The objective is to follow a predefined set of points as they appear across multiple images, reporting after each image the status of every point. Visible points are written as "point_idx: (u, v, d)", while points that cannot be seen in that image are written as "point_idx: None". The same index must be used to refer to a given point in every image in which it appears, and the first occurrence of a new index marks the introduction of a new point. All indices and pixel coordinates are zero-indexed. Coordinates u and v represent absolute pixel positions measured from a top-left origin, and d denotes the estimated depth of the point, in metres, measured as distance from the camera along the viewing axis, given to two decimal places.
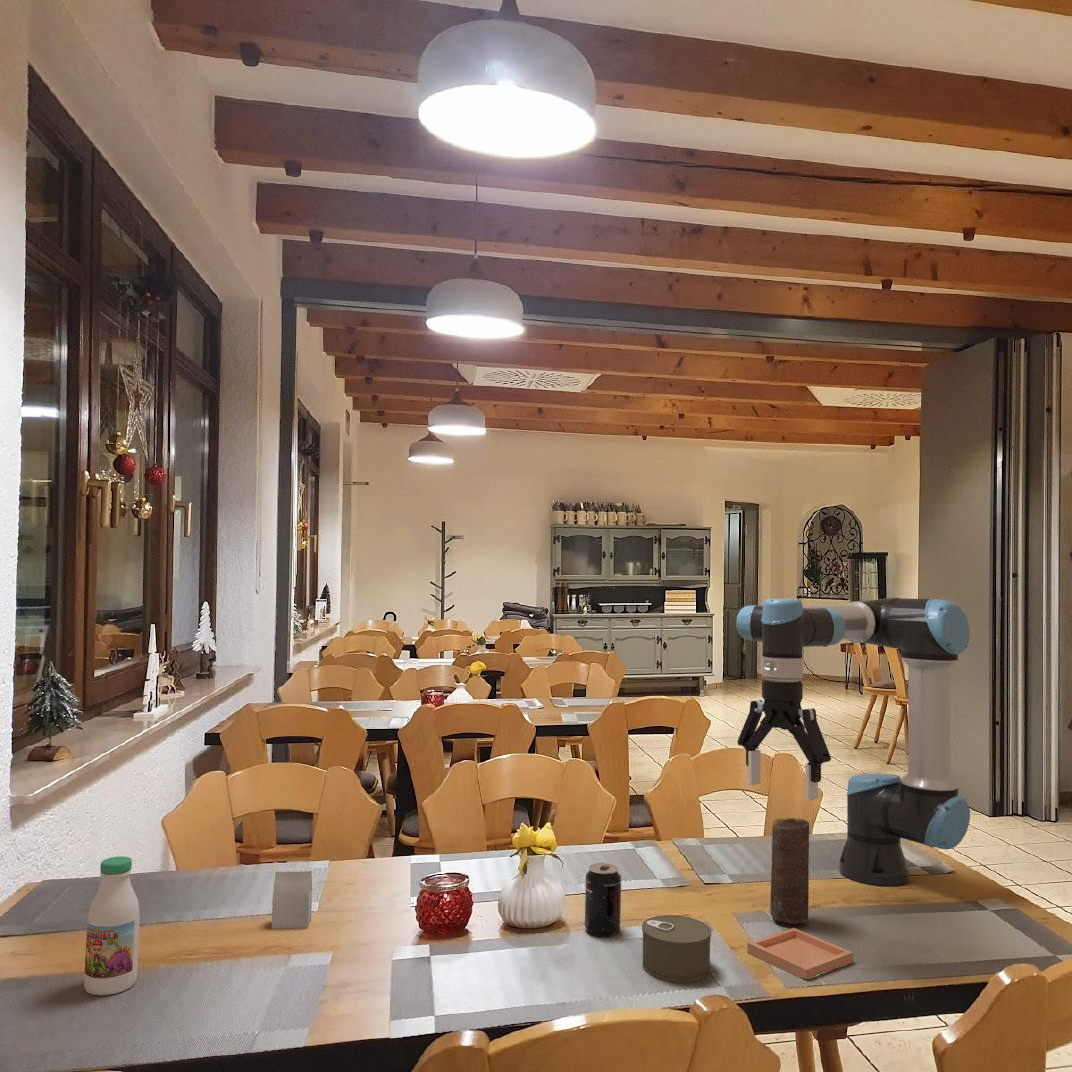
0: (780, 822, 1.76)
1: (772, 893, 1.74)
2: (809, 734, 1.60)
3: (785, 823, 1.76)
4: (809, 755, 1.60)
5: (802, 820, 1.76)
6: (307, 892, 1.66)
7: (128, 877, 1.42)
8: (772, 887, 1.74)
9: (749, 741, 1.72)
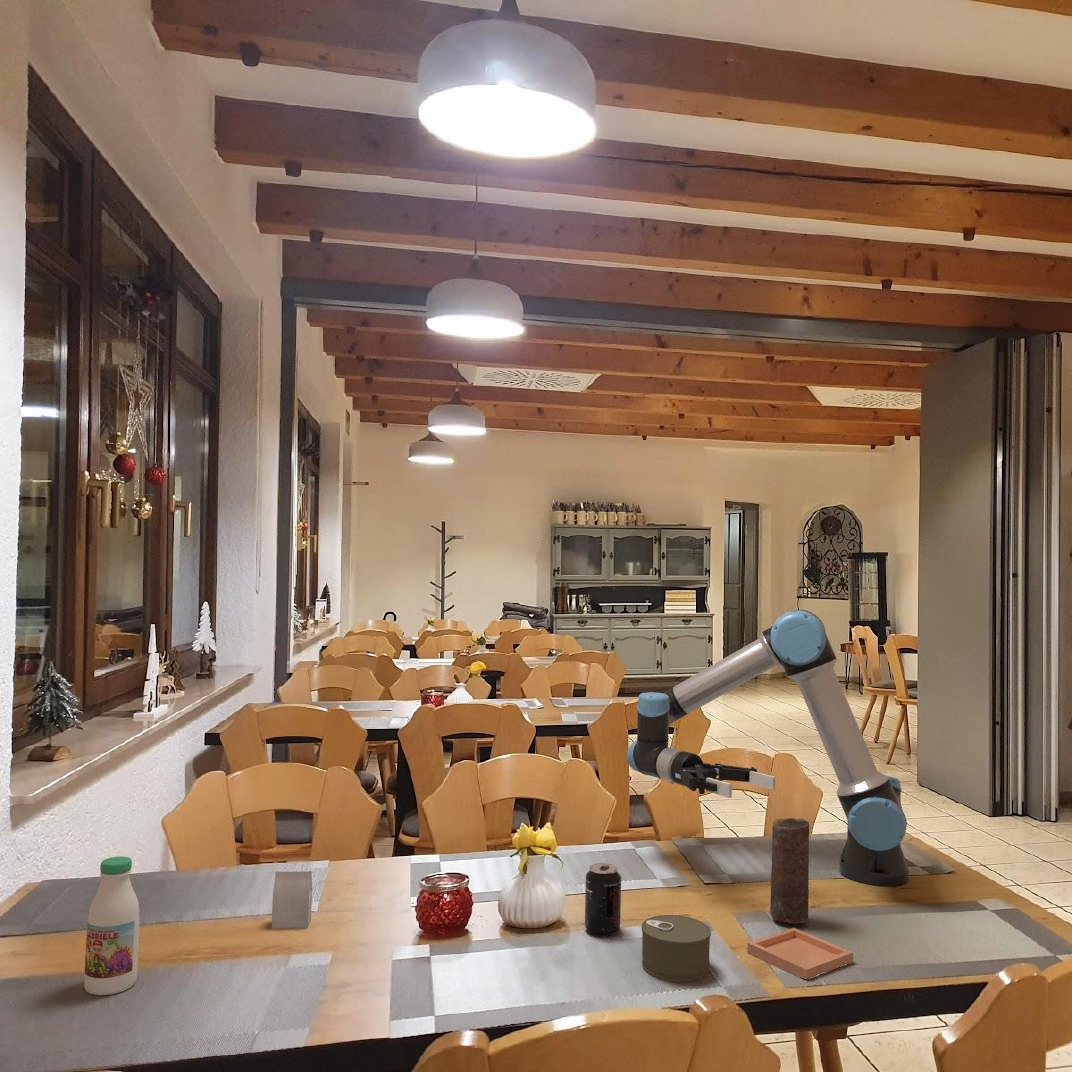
0: (780, 822, 1.76)
1: (772, 893, 1.74)
2: None
3: (785, 823, 1.76)
4: None
5: (802, 820, 1.76)
6: (307, 892, 1.66)
7: (128, 877, 1.42)
8: (772, 887, 1.74)
9: None
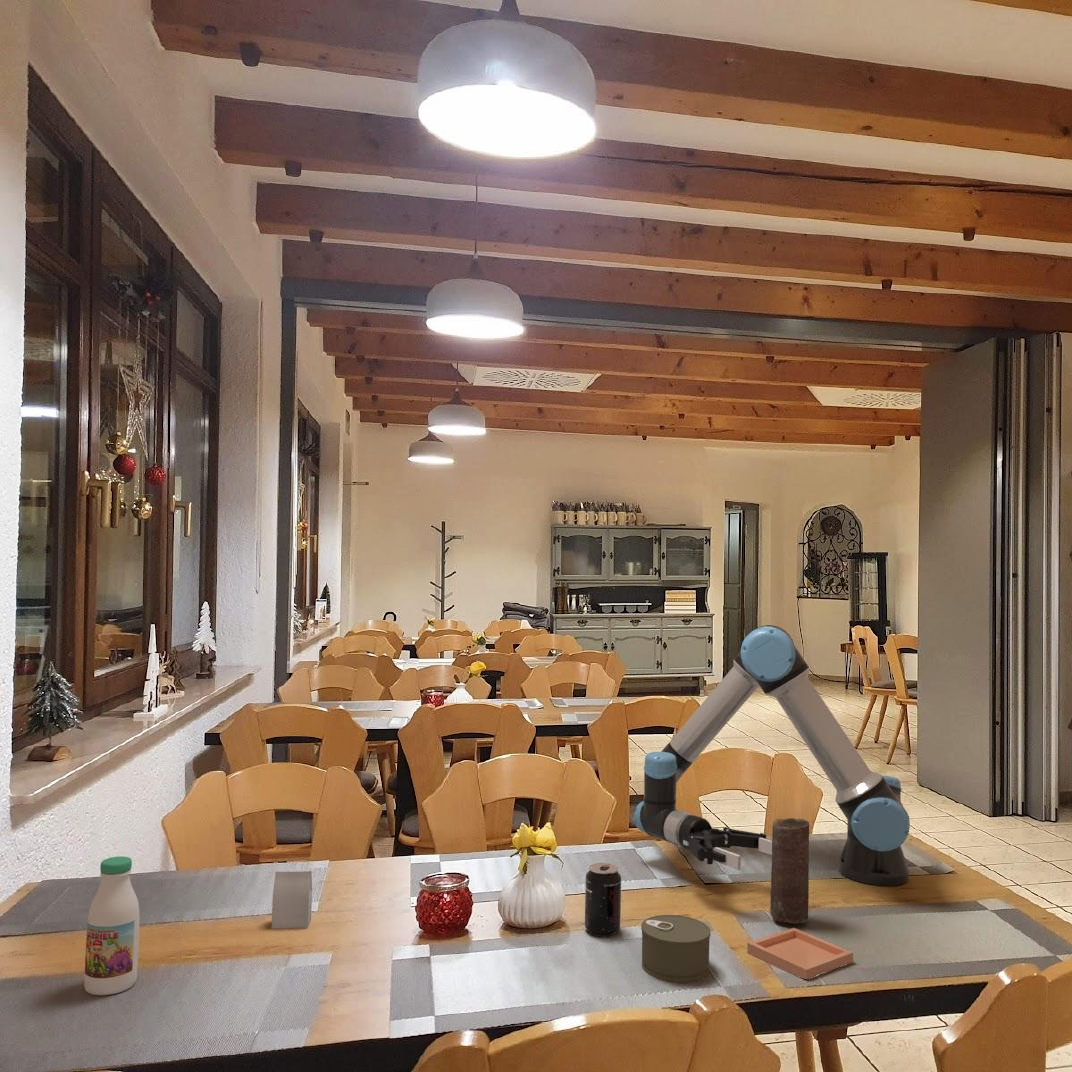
0: (780, 822, 1.76)
1: (772, 893, 1.74)
2: None
3: (785, 823, 1.76)
4: None
5: (802, 820, 1.76)
6: (307, 892, 1.66)
7: (128, 877, 1.42)
8: (772, 887, 1.74)
9: None
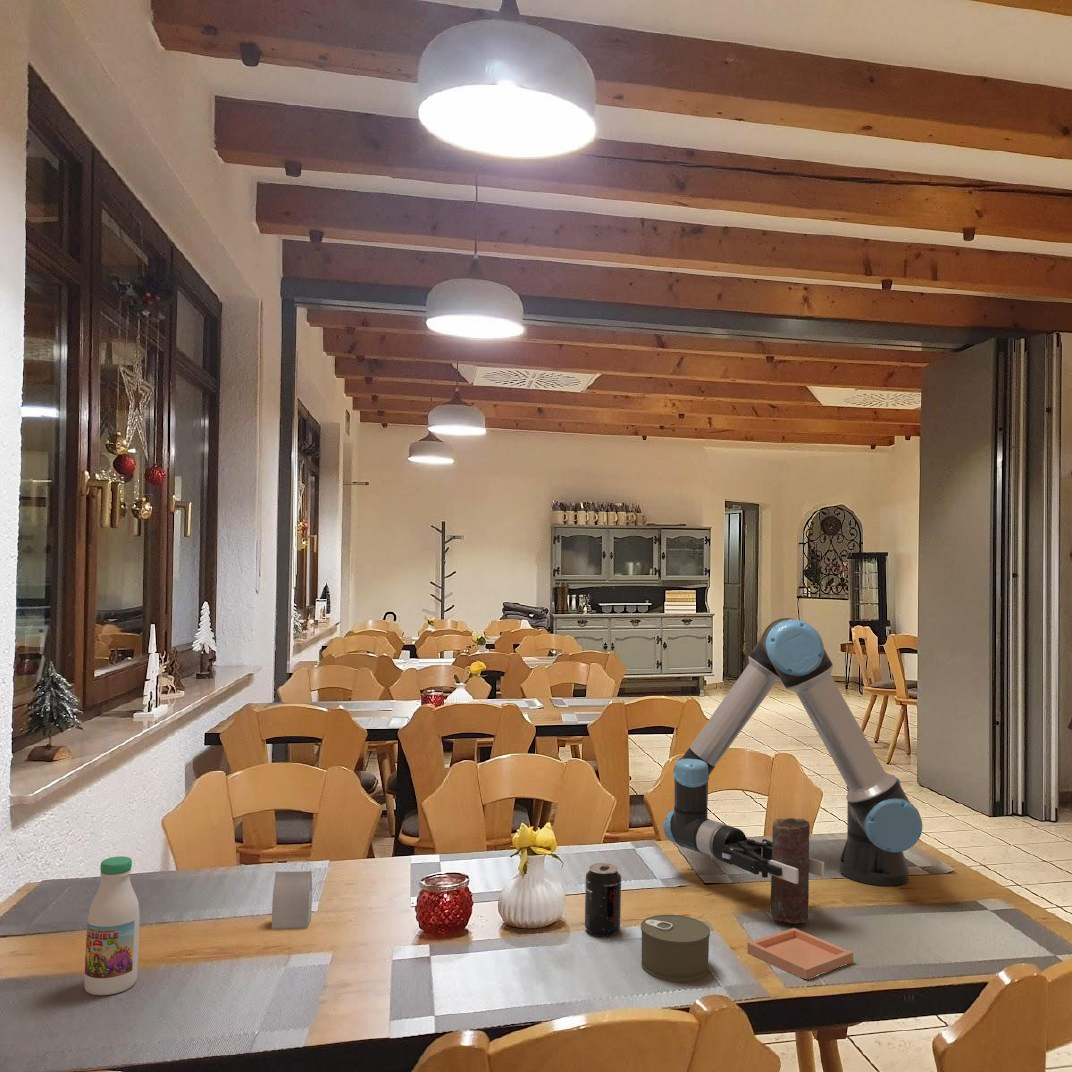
0: (780, 822, 1.76)
1: (772, 893, 1.74)
2: None
3: (785, 823, 1.76)
4: None
5: (802, 820, 1.76)
6: (307, 892, 1.66)
7: (128, 877, 1.42)
8: (772, 887, 1.74)
9: None
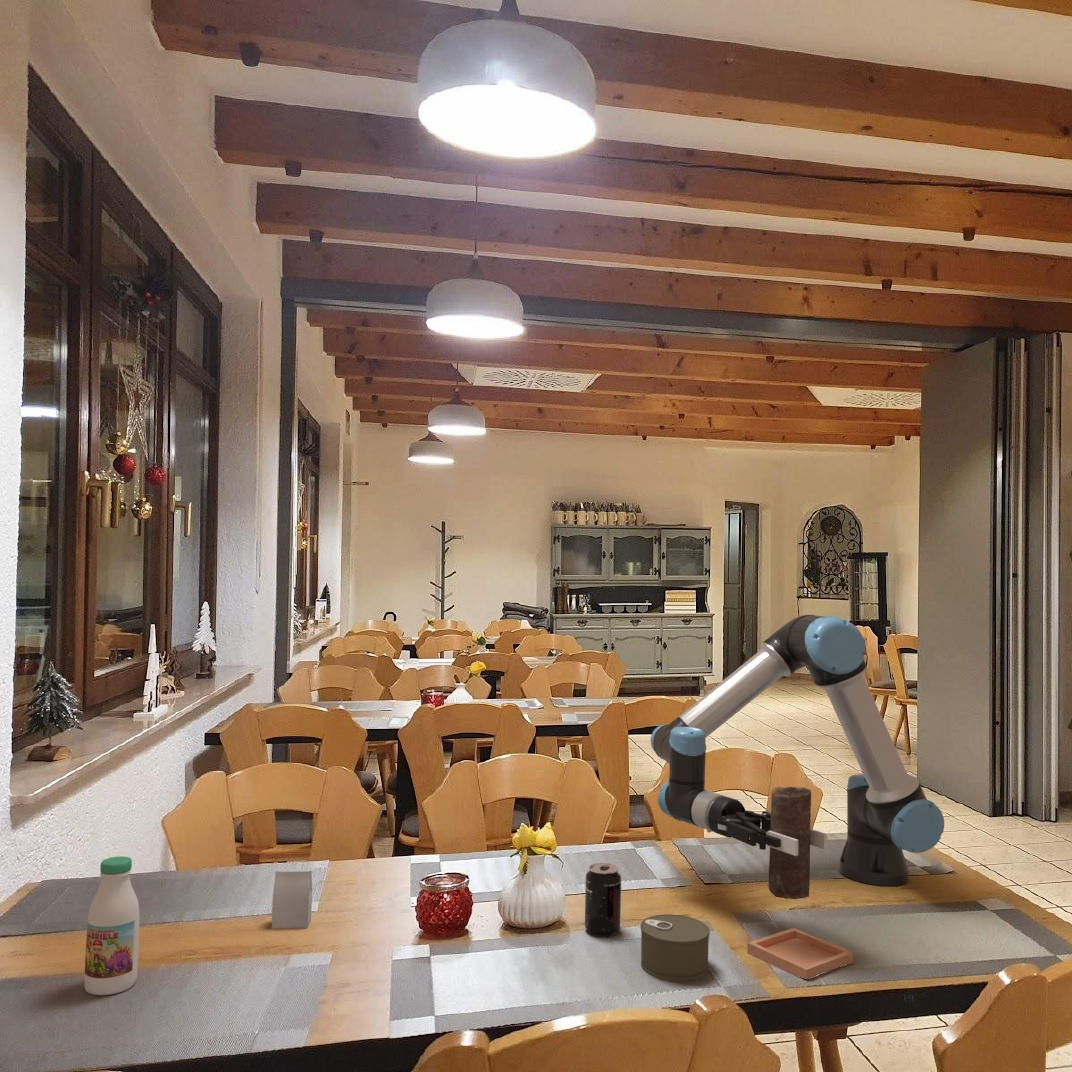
0: (780, 790, 1.64)
1: (770, 866, 1.62)
2: None
3: (785, 791, 1.63)
4: (758, 842, 1.62)
5: (804, 789, 1.63)
6: (307, 892, 1.66)
7: (128, 877, 1.42)
8: (770, 860, 1.62)
9: None
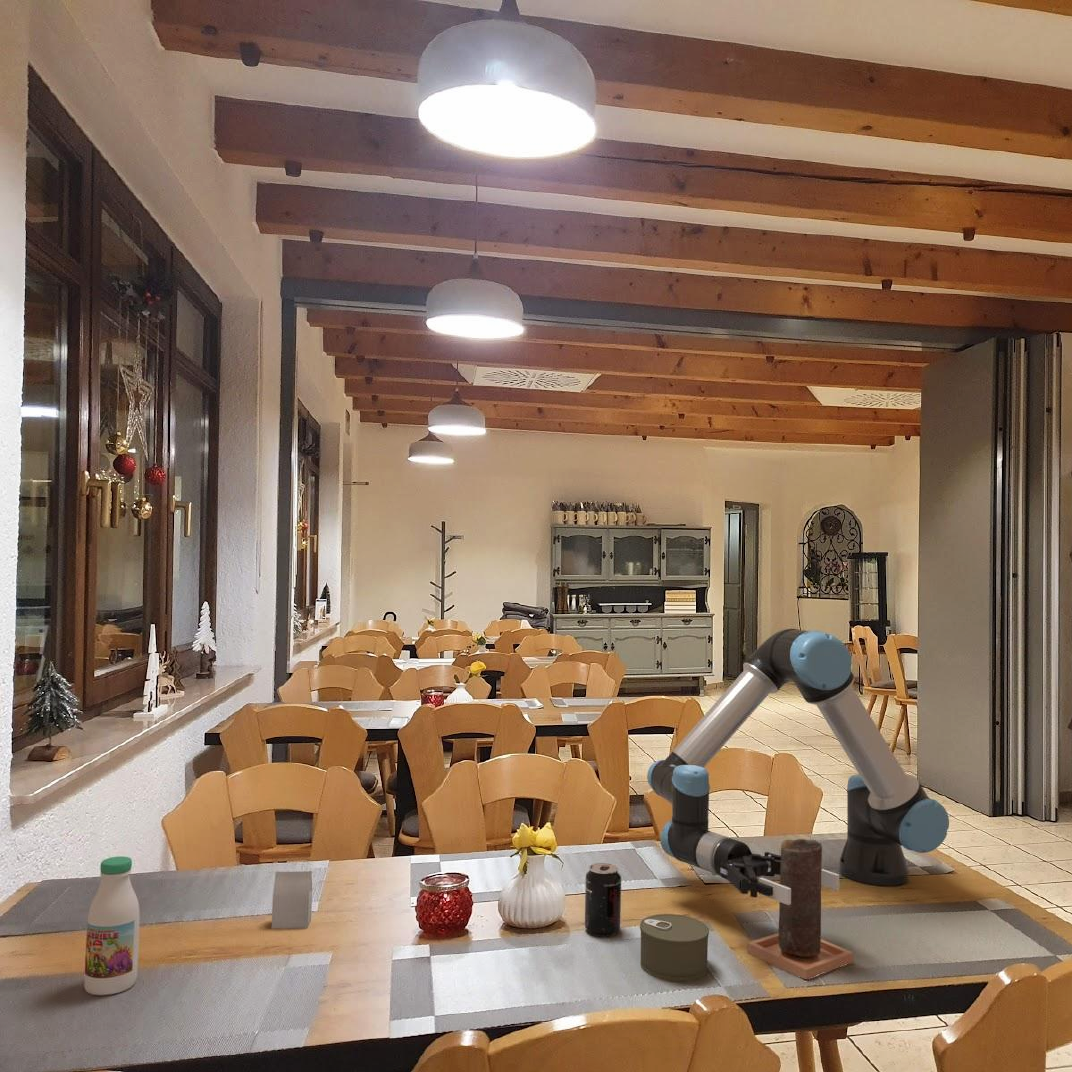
0: (789, 844, 1.59)
1: (781, 922, 1.57)
2: None
3: (795, 845, 1.59)
4: None
5: (814, 841, 1.59)
6: (307, 892, 1.66)
7: (128, 877, 1.42)
8: (781, 916, 1.58)
9: None
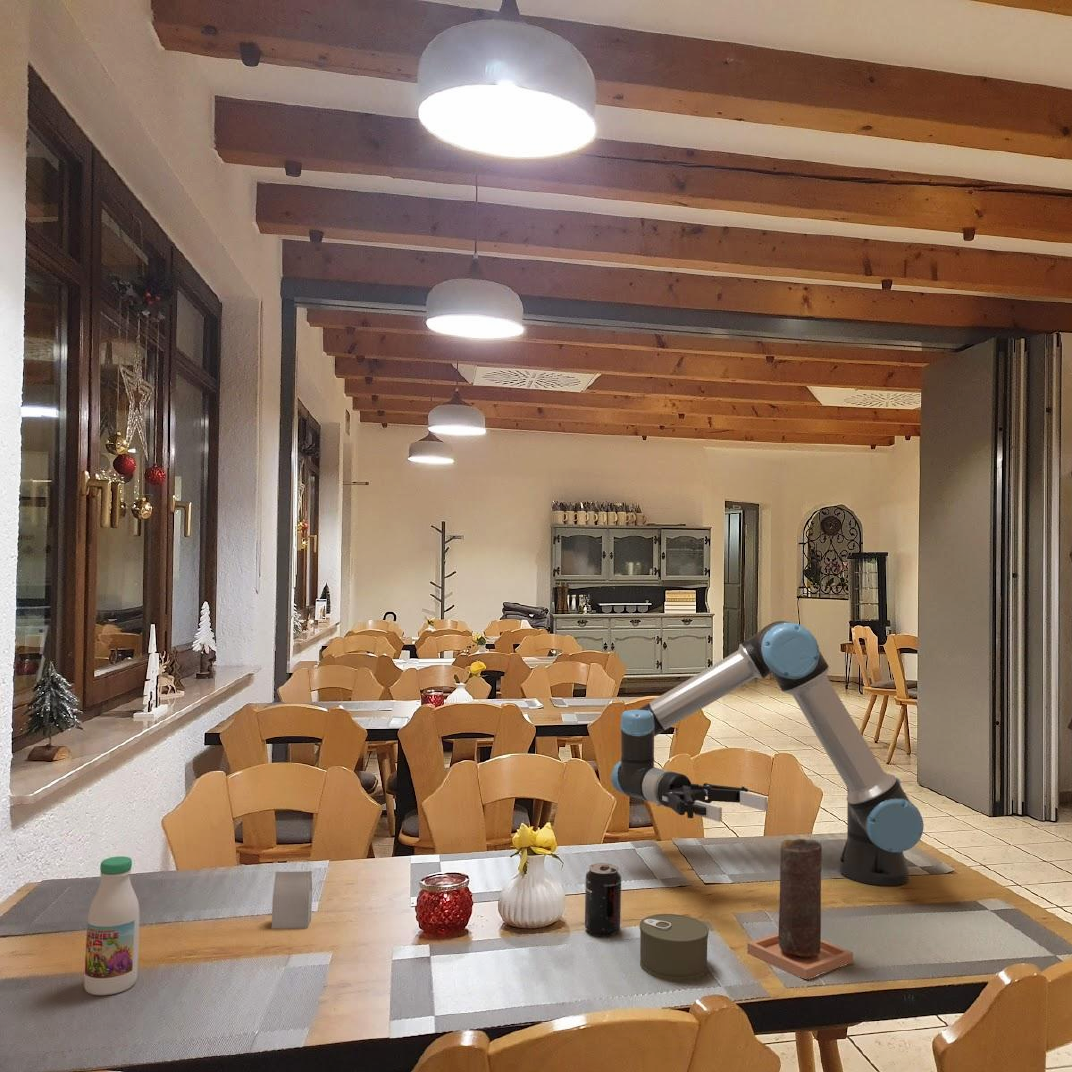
0: (789, 844, 1.59)
1: (780, 922, 1.57)
2: None
3: (794, 845, 1.59)
4: None
5: (813, 841, 1.59)
6: (307, 892, 1.66)
7: (128, 877, 1.42)
8: (780, 916, 1.58)
9: None
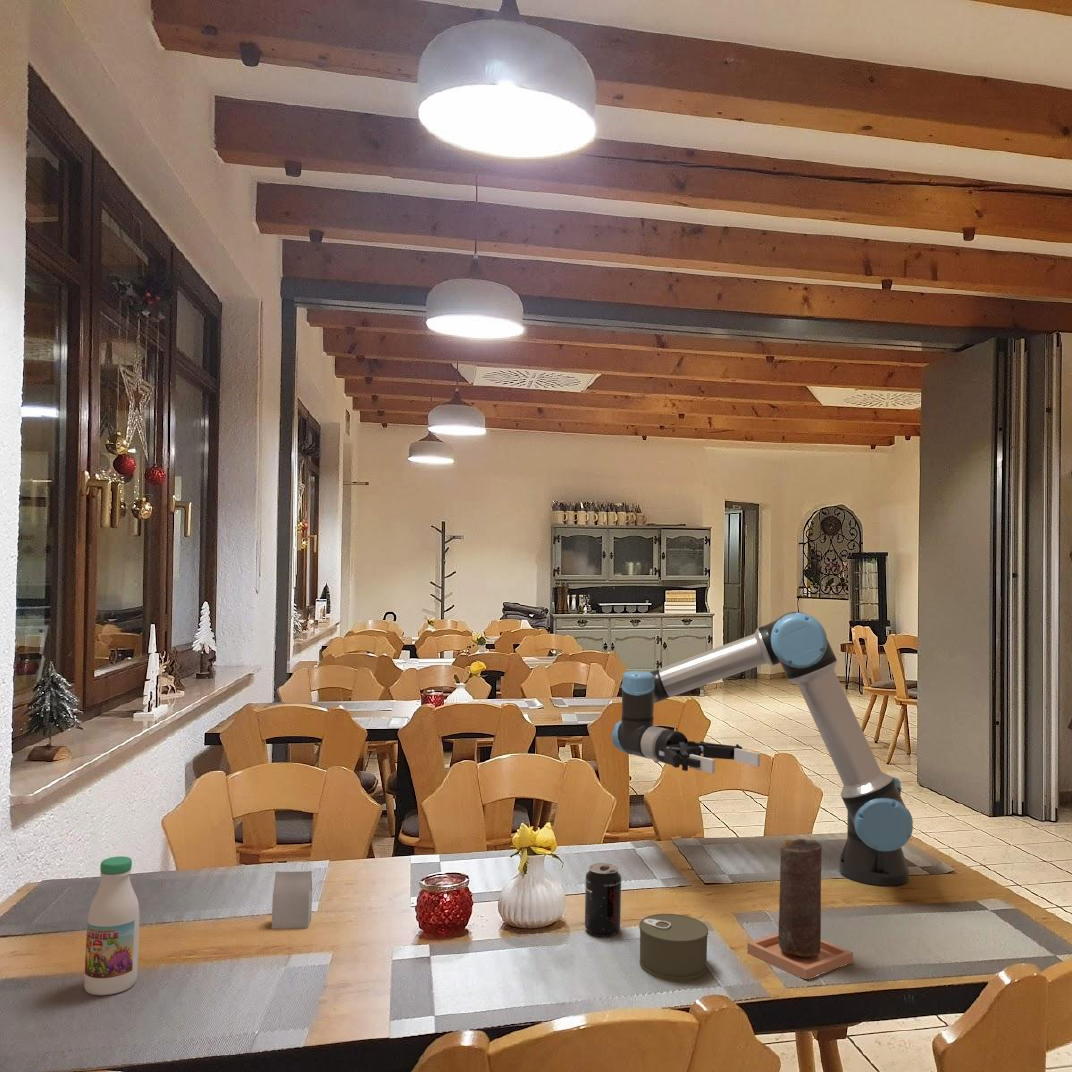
0: (789, 844, 1.59)
1: (780, 922, 1.57)
2: None
3: (794, 845, 1.59)
4: None
5: (813, 841, 1.59)
6: (307, 892, 1.66)
7: (128, 877, 1.42)
8: (780, 916, 1.58)
9: None
